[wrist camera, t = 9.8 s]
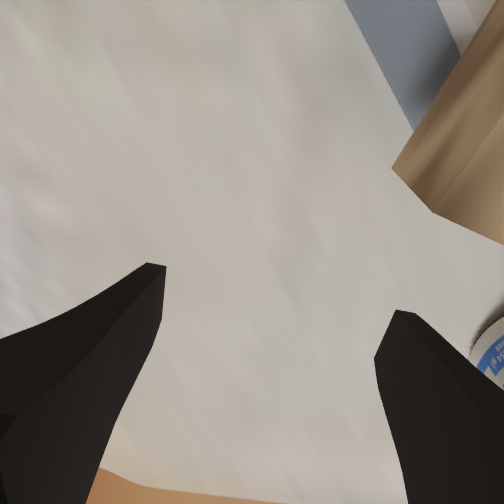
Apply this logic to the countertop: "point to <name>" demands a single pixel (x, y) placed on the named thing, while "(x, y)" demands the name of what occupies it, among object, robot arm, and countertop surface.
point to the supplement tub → (490, 353)
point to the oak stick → (464, 138)
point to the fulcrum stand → (418, 43)
